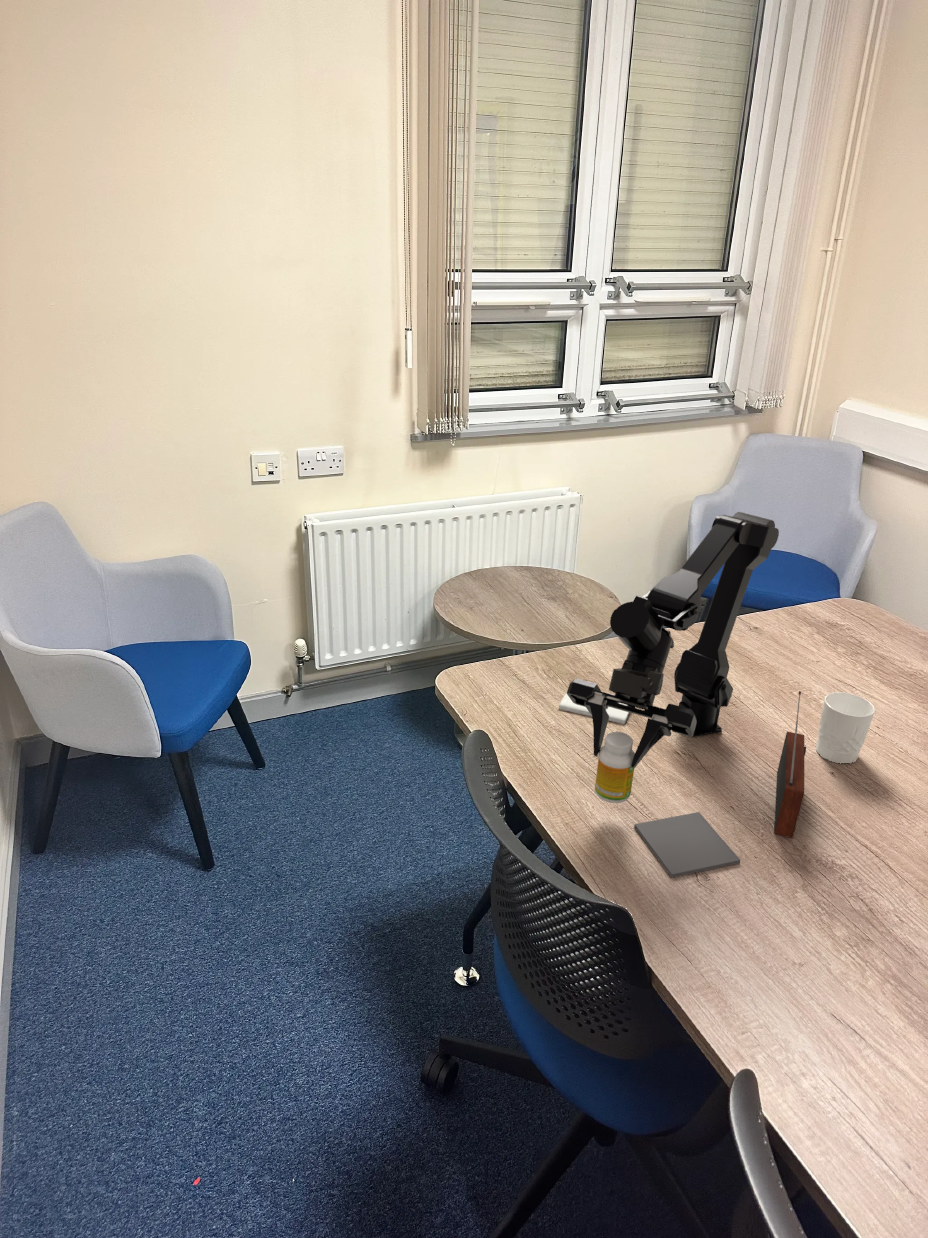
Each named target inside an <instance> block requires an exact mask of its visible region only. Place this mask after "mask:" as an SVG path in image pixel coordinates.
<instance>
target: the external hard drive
mask: <svg viewBox="0 0 928 1238" xmlns="http://www.w3.org/2000/svg"><path fill="white" fill-rule="evenodd" d="M607 693H608V694H610V693H609V692H607ZM611 694H612V693H611ZM612 695H614V694H612ZM619 704H621V703H619ZM622 705H626V704H622ZM626 706H627V705H626ZM558 709H559V710H561V711H567V712H571V713H574V714H579V715H582V716H587V717H591V718H592V714H590V713H589V711H588V710H587V708H586V707H584V706H580V705H577V704H575V703H573V702H572V700H571V699H570V698H569V696H568V695H567V691H566V692H565V694H564V696H563V697H562V698H561V701H560V702H559V704H558ZM606 712H607V713H608V715H609V719H608V722H609V721H610V722H613V723H617V724H622V725H626V723H627V720H628V718H629V716H630V714H631V713H630V712H626V711H622V710H619V709H615V708H612V707H608V709H606Z"/></svg>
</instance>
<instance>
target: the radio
mask: <svg viewBox="0 0 928 1238" xmlns="http://www.w3.org/2000/svg"><path fill="white" fill-rule="evenodd" d="M801 695H802V691H800V690H799V691H798V702H797V712H796V713H797V714H796V722H795V731H794V732H792V731H786V733H785V736H784V741H783V746H782V749H781V755H780V759H779V764H778V766H777V771H776V782H775V783H776V787H775V802H774V803H775V805H774V806H775V807H774V822H773V823H774V824H773V825H774V827H773V834H774V835H777V836H782V837H786V838H790V839H793V838H794V835H795V831H796V827H797V823H798V820H799V815H800V813H801V812H800V811H801V809H802V808H801V807H802V803H803V800H804V795H805V756H806V753H807V746H805V743H806V742H805V734H803V733H798V724H799V723H798V721H799V710H800V701H801V700H800V699H801Z"/></svg>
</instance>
